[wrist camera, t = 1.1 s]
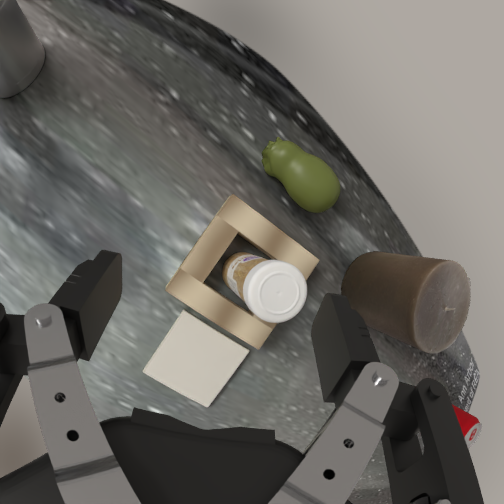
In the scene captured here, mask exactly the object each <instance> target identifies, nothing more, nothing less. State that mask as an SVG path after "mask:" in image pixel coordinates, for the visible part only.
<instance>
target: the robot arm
mask: <svg viewBox="0 0 504 504" xmlns="http://www.w3.org/2000/svg"><path fill="white" fill-rule="evenodd" d="M44 60H45V50H44V47H43V45H42V44H41V42H40V41H39V39H38V37H37V36H36V34H35V32H34V30H33V29H32V27H31V25H30V24H29V22H28V20H27V19H26V17H25V15H24V14H23V12H22V10H21V8H20V7H19V5H18V3H17V1H16V0H0V98H7V97H11V96H14V95H16V94H18V93H19V92H21V91H23V90H24V89H25V88H26V87H27V86H29V85H30V83H31V82H32V81H33V80H34V79H35V78H36V76H37V75H38V74H39V72H40V70H41V68H42V66H43V63H44ZM121 294H122V256H121V254H120V253H116V252H111V251H106V250H101V251H100V253H99V254H98V255H97V256H96V258H95V259H94V260H93V261H92V260H87V261H85V262H83V263H81V264H80V265H78V266H77V267H76V268H75V270H74V271H73V272H72V273H71V275H70V276H69V277H68V278H67V280H66V282H64V283H63V285H62V286H61V287H60V288H59V290H58V291H57V292H56V294H55V295H54V296H53V298H52V299H51V300H50V302H49V303H48V304H39V305H36V306H34V307H32V308H31V309H29V310H28V311H27V313H26V314H25V315H13V314H6V311H5V308H4V306H3V305H2V303H0V426H1V424H2V422H3V419H4V417H5V414H6V412H7V409H8V407H9V405H10V403H11V401H12V398H13V396H14V394H15V392H16V390H17V387H18V385H19V383H20V381H21V379H22V377H23V375H28V376H29V382H30V387H31V391H32V396H33V400H34V405H35V409H36V413H37V417H38V421H39V424H40V428H41V431H42V435H43V438H44V441H45V445H46V448H47V451H48V453H46V454H44V455H42V456H41V457H39V458H37V459H35V460H33V461H32V462H30V463H28V464H26V465H24V466H23V467H21V468H19V469H17V470H15V471H13V472H11V473H9V474H8V475H6V476H4V477H2V478H0V504H352V503H351V502H350V501H349V500H348V497H349V496H350V494H351V492H352V491H353V489H354V487H355V486H356V484H357V482H358V480H359V479H360V477H361V475H362V473H363V471H364V470H365V468H366V466H367V464H368V462H369V460H370V458H371V456H372V454H373V452H374V450H375V448H376V446H377V444H378V442H379V440H380V438H381V440H382V445H383V450H384V455H385V460H386V466H387V471H388V477H389V483H390V489H391V495H392V502H393V504H484V502H483V498H482V494H481V490H480V487H479V483H478V479H477V476H476V473H475V469H474V466H473V463H472V460H471V456H470V453H469V450H468V447H467V444H466V441H465V438H464V435H463V432H462V430H461V427H460V424H459V421H458V419H457V416H456V413H455V411H454V408H453V406H452V403H451V401H450V398H449V396H448V393H447V391H446V389H445V388H444V387H443V385H442V384H441V383H439V382H438V381H436V380H434V379H430V378H425V379H423V380H421V381H420V382H419V384H418V385H417V386H412V385H409V384H406V383H402V382H399V380H398V377H397V375H396V373H395V372H394V371H393V370H392V369H391V368H390V367H389V366H387V365H385V364H383V363H381V362H380V360H379V357H378V355H377V352H376V349H375V347H374V344H373V342H372V339H371V338H370V334H369V332H368V330H367V327H366V324H365V322H364V319H363V318H362V317H361V316H360V314H359V313H358V312H357V311H356V310H353V309H351V307H350V304H349V302H348V299H347V297H346V296H344V295H338V294H331V293H327V294H326V295H325V297H324V299H323V301H322V304H321V306H320V308H319V311H318V313H317V315H316V318H315V320H314V322H313V325H312V331H311V337H312V342H313V347H314V352H315V357H316V362H317V367H318V373H319V378H320V383H321V389H322V394H323V400H324V402H331V403H335V406H336V408H335V409H334V411H333V412H332V413H331V415H330V416H329V418H328V419H327V421H326V422H325V423H324V425H323V426H322V428H321V429H320V430H319V432H318V433H317V435H316V436H315V437H314V439H313V440H312V441H311V443H310V444H309V445H308V446H307V448H306V449H305V450H304V451H303V453H301V452H300V451H298V450H297V449H295V448H294V447H292V446H290V445H288V444H286V443H283V442H281V441H278V440H275V430H267V429H255V428H245V427H235V428H225V429H212V430H203V429H199V428H197V427H194V426H192V425H189V424H187V423H185V422H182V421H180V420H178V419H175V418H173V417H171V416H168V415H164V414H159V413H155V412H151V411H146V410H142V409H138V408H134V409H133V413H132V416H126V417H116V418H111V419H107V420H104V421H101V422H99V421H98V419H97V416H96V414H95V412H94V409H93V407H92V404H91V401H90V399H89V396H88V394H87V391H86V388H85V385H84V383H83V380H82V377H81V374H80V371H79V368H78V365H77V361H78V359H79V358H80V359H83V360H86V361H89V360H90V358H91V356H92V354H93V352H94V350H95V348H96V346H97V344H98V342H99V340H100V338H101V336H102V334H103V332H104V330H105V328H106V326H107V324H108V322H109V320H110V318H111V316H112V314H113V312H114V310H115V308H116V306H117V305H118V303H119V301H120V298H121ZM419 431H420V432H421V436H422V439H423V443H424V454H423V456H422V452H421V448H420V444H419V440H418V437H417V433H418V432H419Z"/></svg>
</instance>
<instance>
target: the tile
mask: <svg viewBox="0 0 504 504" xmlns="http://www.w3.org/2000/svg"><path fill="white" fill-rule="evenodd" d="M248 352H249V349H247V348H245V347H244V346H242V345H240V344H239V343H237V342H235V341H234V340H232V339H230V338H229V337H227V336H226V335H224V334H222V333H221V332H219V331H217V330H216V329H214V328H213V327H211V326H209V325H208V324H206V323H205V322H203V321H202V320H200V319H198V318H197V317H195V316H194V315H192V314H191V313H189V312H188V311H186V310H184V309H183V311H182V312H181V314H180V315H179V317H178V318H177V320H176V321H175V323H174V324H173V326H172V327H171V329H170V330H169V332H168V333H167V335H166V336H165V338H164V339H163V340H162V342H161V343H160V345H159V346H158V348H157V349H156V351H155V353H154V354H153V356H152V357H151V359H150V360H149V362H148V363H147V365H146V366H145V368H144V369H143V372H144V373H145V374H147V375H149V376H150V377H152V378H154V379H155V380H157V381H159V382H161V383H162V384H164V385H166V386H168V387H169V388H171V389H173V390H175V391H177V392H179V393H180V394H182V395H184V396H186V397H188V398H190V399H192V400H194V401H196V402H198V403H200V404H201V405H203V406H205V407H207V408H208V406H209V405H210V404H211V402H212V401H213V400H214V398H215V397H216V396H217V395H218V393H219V392H220V391H221V389H222V388H223V387H224V385H225V384H226V383H227V381H228V380H229V378H230V377H231V376H232V374H233V373H234V372H235V370H236V369H237V368H238V366H239V365H240V363H241V362H242V361H243V359H244V358H245V357H246V355H247V354H248Z"/></svg>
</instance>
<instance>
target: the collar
mask: <svg viewBox="0 0 504 504" xmlns="http://www.w3.org/2000/svg"><path fill="white" fill-rule="evenodd" d="M237 234H238V235H240V236H241V237H243V238H244V239H245V240H247V241H248V242H249V243H251V244H252V245H253V246H255V247H256V248H258V249H259V250H260V251H262V252H263V253H264V254H266V255H267V256H269V257H270V258H271V259H273V260H280V261H284V262H287V263H290V264H292V265H294V266H295V267H296V268H298V269H299V270H300V272H301V273H302V274H303V276H304V278H305V281H306V280H307V278H308V277H309V275H310V274H311V272H312V271H313V269H314V268H315V266H316V265H317V263H318V262H319V259H317V258H316V257H315V256H313V255H312V254H311V253H310V252H308V251H307V250H306V249H304V248H303V247H302V246H301V245H299V244H298V243H297V242H295V241H294V240H293V239H292V238H290V237H289V236H288V235H286V234H285V233H284V232H283V231H281V230H280V229H279V228H277V227H276V226H275V225H273V224H272V223H271V222H269V221H268V220H267V219H265V218H264V217H263V216H262V215H260V214H259V213H258V212H256V211H255V210H254V209H252V208H251V207H250V206H248V205H247V204H246V203H244V202H243V201H242V200H240V199H239V198H238V197H236V196H235V195H234V194H232V195H231V196H230V197H229V198H228V199H227V200H226V202H225V203H224V204H223V206H222V207H221V209H220V210H219V211H218V213H217V214H216V215H215V217H214V218H213V220H212V221H211V222H210V224H209V225H208V227H207V228H206V229H205V231H204V232H203V234H202V235H201V237H200V238H199V239H198V241H197V242H196V244H195V245H194V246H193V248H192V249H191V251H190V252H189V254H188V255H187V257H186V258H185V259H184V261H183V262H182V264H181V265H180V267H179V268H178V270H177V271H176V273H175V274H174V276H173V277H172V279H171V280H170V282H169V283H168V284H167V286H166V291H167V292H168V293H170V294H171V295H173V296H174V297H176V298H177V299H179V300H180V301H182V302H183V303H185V304H186V305H188V306H189V307H191V308H192V309H194V310H196V311H197V312H199V313H200V314H202V315H203V316H205V317H206V318H208V319H209V320H211V321H213V322H214V323H216V324H217V325H219V326H221V327H222V328H224V329H225V330H227V331H229V332H230V333H232V334H233V335H235V336H237V337H238V338H240V339H242V340H243V341H245V342H247V343H248V344H250V345H252V346H253V347H255V348H257V349H258V350H259V348H260V347H261V346H262V344H263V343H264V341H265V340H266V339H267V337H268V336H269V334H270V333H271V331H272V330H273V329H274V327H275V326H276V324H277V323H271V322H267V321H264V320H262V319H260V318H259V317H258V316H256V315H255V314H254V313H253V312H252V311H251V310H250V309H249V311H246V310H245V309H243V308H242V307H240V306H239V305H237V304H236V303H234V302H233V301H231V300H230V299H228V298H227V297H225V296H224V295H222V294H221V293H219V292H218V291H216V290H215V289H213V288H212V287H210V286H209V285H207V284H206V283H204V281H205V279H206V278H207V276H208V275H209V273H210V272H211V271H212V269H213V268H214V266H215V265H216V263H217V262H218V260H219V259H220V258H221V256H222V255H223V253H224V252H225V250H226V249H227V248H228V246H229V245H230V243H231V242H232V240H233V239H234V238H235V236H236V235H237Z"/></svg>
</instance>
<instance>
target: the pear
mask: <svg viewBox="0 0 504 504" xmlns="http://www.w3.org/2000/svg"><path fill="white" fill-rule="evenodd" d="M262 156H263V159H262V163H263V166H264V169H265V172H266V173H267V174H268V175H270V176H273V177H276V178H277V179H278V180H280V181H281V182H282V184H283V185H284V187H285V189H286V191H287V193H288V194H289V196H290V197H291V198H292V199H293V200H294V201H295V202H296V203H297V204H298V205H299V206H300V207H302V208H303V209H305V210H307V211H309V212H312V213H321V212H324V211H326V210H328V209H330V208H331V207H332V206H333V205H334V204H335V203H336V201H337V199H338V197H339V194H340V183H339V180H338V178H337V176H336V175H335V173H334V172H333V170H332V169H331V168H330V167H329V166H328V165H327V164H326V163H325V162H324V161H323V160H321V159H320V158H318V157H316V156H313V155H311V154H308V153H306V152H304V151H303V150H302V149H301V148H300V147H299V146H298V145H296V144H295V143H293V142H290V141H283V140H281V139H280V138H279V137H277V138H276V141H275V142H272V141H269V143H268V146H267V147H266V148H265V149H264V150H263V152H262Z"/></svg>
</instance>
